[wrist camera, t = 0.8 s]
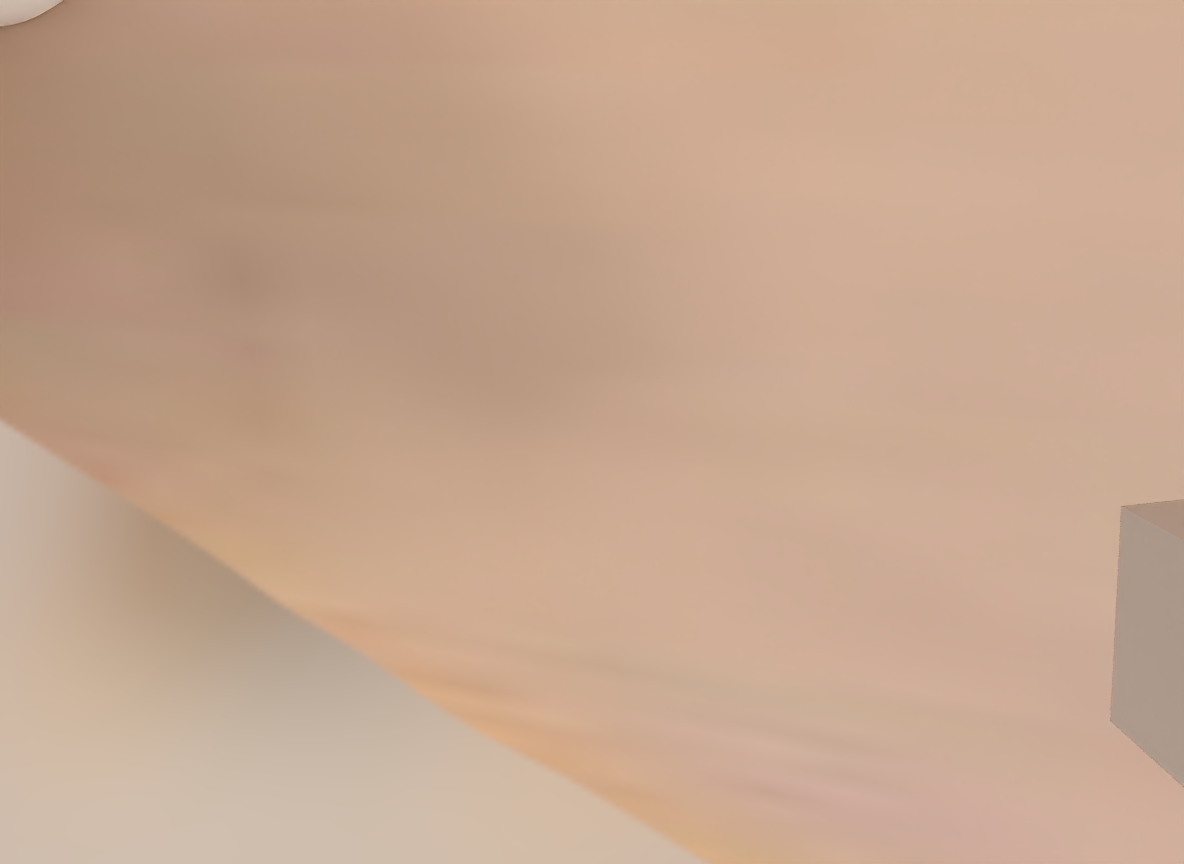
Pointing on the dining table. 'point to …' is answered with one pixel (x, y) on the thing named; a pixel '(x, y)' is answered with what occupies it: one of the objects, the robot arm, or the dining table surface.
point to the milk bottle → (23, 10)
